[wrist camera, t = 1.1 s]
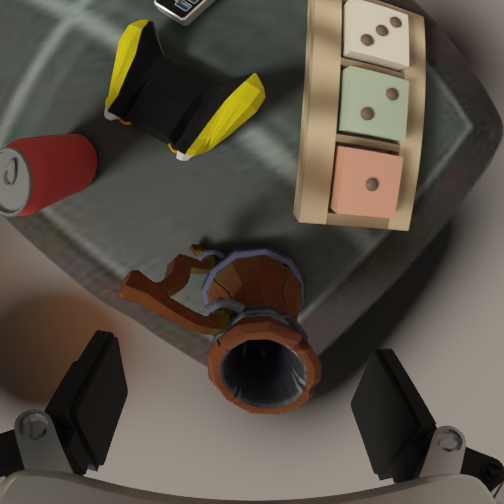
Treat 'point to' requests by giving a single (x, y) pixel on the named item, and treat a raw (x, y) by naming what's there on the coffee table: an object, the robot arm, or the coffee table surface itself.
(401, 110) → the sage tile
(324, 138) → the wooden dotted tile rack
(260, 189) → the coffee table surface
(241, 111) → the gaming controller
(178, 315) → the mug
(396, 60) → the cream tile
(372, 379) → the robot arm
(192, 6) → the multiport hub
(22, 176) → the beer can
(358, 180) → the terracotta tile
